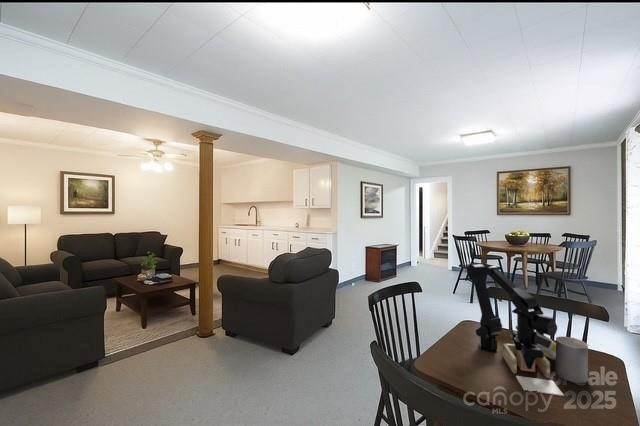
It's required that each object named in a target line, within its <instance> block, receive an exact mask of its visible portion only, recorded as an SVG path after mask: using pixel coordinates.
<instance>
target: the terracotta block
mask: <svg viewBox="0 0 640 426" xmlns="http://www.w3.org/2000/svg"><path fill="white" fill-rule="evenodd" d="M521 351H522V350H517V367H518V368H519V370H520V371H525V372H531V373H535V372H536V364H535V361H534V363H533V365H532V368H531V369H528V368H527V366H526V363H525V360H524V358H523V355H522V353H521Z"/></svg>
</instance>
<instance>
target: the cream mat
mask: <svg viewBox="0 0 640 426" xmlns="http://www.w3.org/2000/svg"><path fill="white" fill-rule="evenodd" d="M515 378H516V380H517V381H518V383H519V384H520V386H521V387H522V389H523V391H525V390H526V391H527V390H528V391H527V392H532V391H537V392H536V393H539V392H540V394H547V395H554V396H560V397H565V394H564V393H563V392H562V391H561V390H560V388H559V387H558V386H557V385H556V383H555V382H554V381H553V380H551V379H544V378H534V377H529V376H528V377H527V376H521V375H515Z"/></svg>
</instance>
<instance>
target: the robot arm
mask: <svg viewBox="0 0 640 426" xmlns="http://www.w3.org/2000/svg"><path fill="white" fill-rule="evenodd" d="M466 272H467V275H468V278H469V280H470V281H471V282H472V283H473V285H474V289H475V293H476V297H477V302H478V304H479V308H480V313H481V317H480V321H479V323H480V327H478V328H477V329H475V335H476V336H477V337H479V342H478V347H479V349H480V350H481V352H491V353H498V340H497V337H498V336H499V335H500V333H501V332H502V331H503V327H504V326H503V324H502V320H501V318H500V317H497V316H496V314H494V310H493V307H492V303H491V299H490V295H489V291H488V287H487V283H486V281H487V278H488V276H489V277H490V278H491V279H492V280H493V281H494V282H495V283H496V284H497V285H498V286H499V287H500V288H501V289H502V290H503V291H504V293H506V294H507V295H508V296H509V298H510V302H511V303H512V305H513V306H514V307H515V308H514V309H513V310H512V311H511V313H513V314H516V315H517V316H516V318H517V319H516V321H517V323H516V324H517V325H516V326H515V329H516V330H512V331H510V333H509V335H510V338H511V341H512V342H513V343H512V344H514V345H515V347H516V349H517V350H522V351H521V353H522V355H523V358H524V360H525V363H526V366H527V368H528V369H531V368H532V365H533V363H534V361H535V359H536V358H544V357H545V354H544V353H543V352H542V351H541V350H540V349H539V348H538V347H537V346H535V345H537V343H538V344H540V345H542V346H545V347H546V348H549V347H550V345H551V342H552V341H553V340H552V339H551V338H550V337H554V336H555V335H556V333H557V331H558V325H557V323H556V321H554V317H551V316H546V315H545V314H544V311H542V308H541V307H540V306H539V304H538V301H537V299H536V298H535V297H534V296H532V295H531V294H530V293H529V292H527V291H525V290H523V289H521V288H520V287H518V286H517V285H516V284H515V283H513V281H512V280H511V279H510V278H508V276H507V275H505V274H504V273H503V272H502V271H501V270H500V268H499V267H498V266H496V265H484V264H482V263H477V264H469V265H468V266H467V268H466ZM531 310H532V311H531ZM546 336H547V337H546ZM548 336H549V338H550V339H551V340H552V341H551V340H550V339H549V338H548Z"/></svg>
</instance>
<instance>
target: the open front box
mask: <svg viewBox="0 0 640 426" xmlns="http://www.w3.org/2000/svg"><path fill="white" fill-rule="evenodd" d="M502 357H503V359H504V360H505V362H506V364H507V365H508V367H509V369H510V371H511V372H512V373H513V374H517V372H518V369H517V367H518V365H517V349H516V347H515V345H514V343H504V342H503V343H502ZM535 366H536V367H537V368H538V369H539V370H540V372H541V373H542V374H543V376H545V378H548V379H551V362H550V361H549V360H548V359H547V358H546V356H544V358H536V359H535Z"/></svg>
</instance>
